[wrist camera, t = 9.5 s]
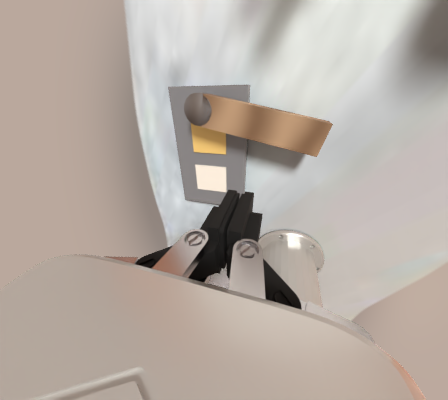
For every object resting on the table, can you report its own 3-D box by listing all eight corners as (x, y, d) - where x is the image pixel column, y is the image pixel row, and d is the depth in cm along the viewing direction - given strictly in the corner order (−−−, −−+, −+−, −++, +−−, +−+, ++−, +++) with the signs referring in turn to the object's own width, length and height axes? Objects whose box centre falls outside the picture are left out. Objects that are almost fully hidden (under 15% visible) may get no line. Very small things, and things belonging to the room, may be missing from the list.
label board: (244, 204, 32) (241, 211, 30) (188, 196, 35) (182, 202, 33) (250, 85, 23) (246, 84, 21) (172, 86, 25) (163, 86, 24)
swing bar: (328, 121, 20) (332, 124, 19) (314, 151, 22) (316, 156, 21) (191, 89, 23) (184, 89, 21) (190, 119, 25) (183, 122, 23)
